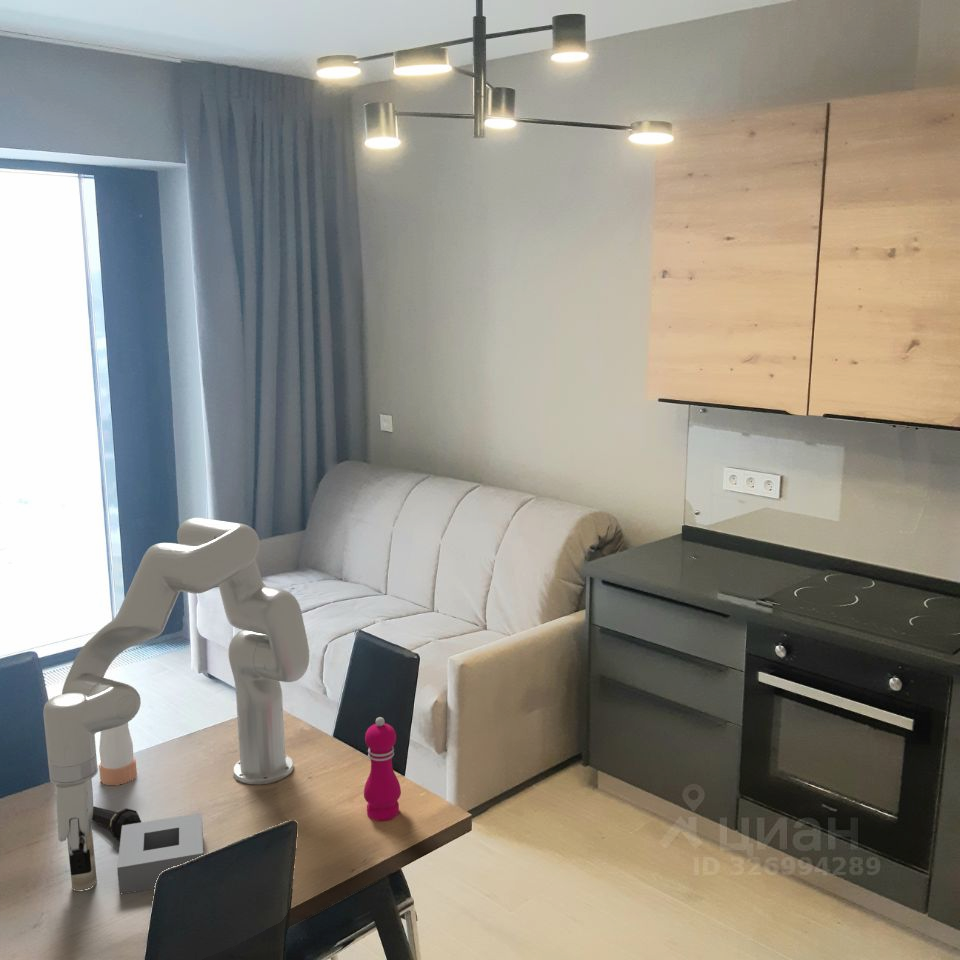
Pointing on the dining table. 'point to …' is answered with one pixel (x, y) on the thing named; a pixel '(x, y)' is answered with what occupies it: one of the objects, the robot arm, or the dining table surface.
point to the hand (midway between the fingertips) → (82, 864)
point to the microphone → (115, 819)
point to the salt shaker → (116, 756)
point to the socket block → (156, 849)
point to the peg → (85, 879)
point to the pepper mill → (381, 773)
